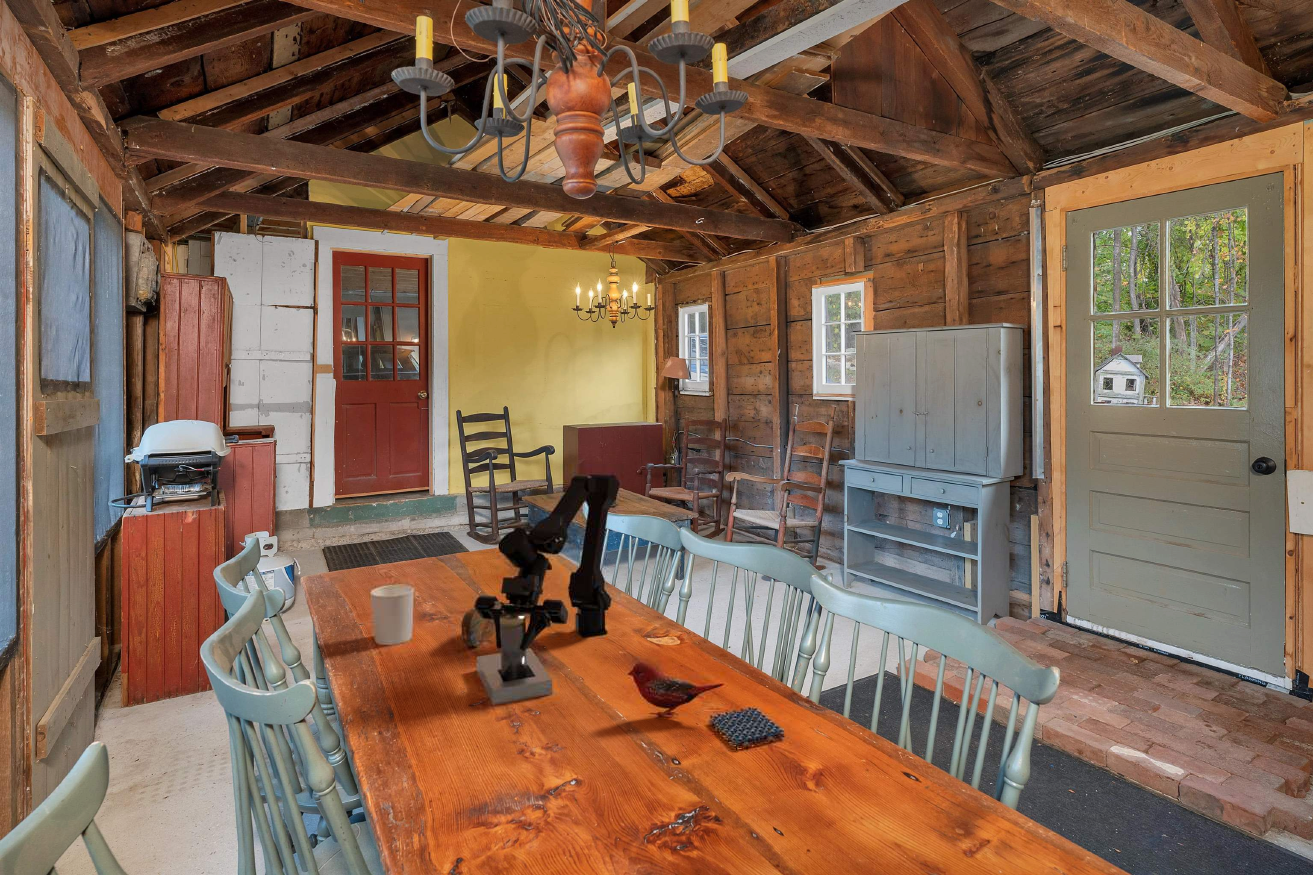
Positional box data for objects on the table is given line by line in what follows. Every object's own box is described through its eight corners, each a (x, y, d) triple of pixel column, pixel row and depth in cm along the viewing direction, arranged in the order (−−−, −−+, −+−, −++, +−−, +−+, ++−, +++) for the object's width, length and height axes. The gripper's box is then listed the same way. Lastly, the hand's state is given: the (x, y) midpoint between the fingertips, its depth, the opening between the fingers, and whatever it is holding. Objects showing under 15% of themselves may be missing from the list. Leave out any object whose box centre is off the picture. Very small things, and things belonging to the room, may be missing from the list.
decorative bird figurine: (627, 711, 126) (627, 659, 126) (723, 712, 126) (723, 660, 125) (626, 719, 124) (626, 665, 123) (724, 720, 123) (724, 666, 122)
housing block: (530, 661, 150) (530, 648, 150) (552, 693, 134) (552, 679, 134) (476, 670, 145) (476, 656, 145) (492, 705, 129) (492, 690, 129)
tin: (471, 652, 156) (471, 616, 155) (459, 651, 156) (458, 615, 156) (499, 629, 170) (499, 596, 170) (488, 628, 171) (487, 595, 170)
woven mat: (735, 754, 112) (735, 742, 112) (706, 725, 122) (706, 714, 122) (788, 742, 117) (788, 730, 116) (756, 715, 126) (756, 704, 126)
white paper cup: (423, 634, 167) (422, 586, 166) (396, 648, 157) (394, 598, 157) (391, 629, 170) (389, 582, 169) (362, 643, 161) (360, 593, 160)
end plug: (523, 671, 140) (522, 609, 139) (529, 680, 136) (528, 617, 135) (498, 675, 138) (497, 613, 137) (503, 685, 133) (502, 621, 132)
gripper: (476, 557, 141) (452, 628, 131) (563, 561, 137) (544, 634, 127) (493, 583, 149) (472, 652, 139) (575, 588, 145) (559, 658, 135)
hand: (510, 648), depth 135 cm, fingers closed on end plug, 5 cm apart
